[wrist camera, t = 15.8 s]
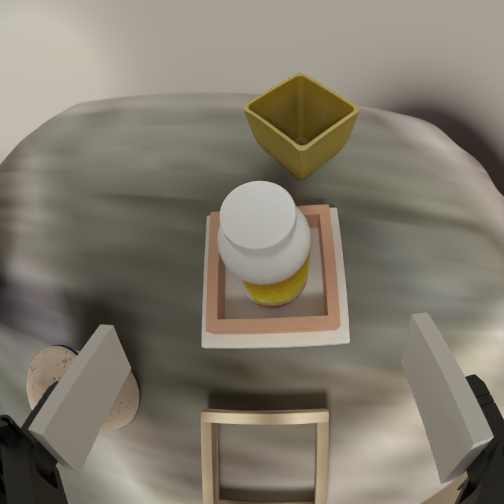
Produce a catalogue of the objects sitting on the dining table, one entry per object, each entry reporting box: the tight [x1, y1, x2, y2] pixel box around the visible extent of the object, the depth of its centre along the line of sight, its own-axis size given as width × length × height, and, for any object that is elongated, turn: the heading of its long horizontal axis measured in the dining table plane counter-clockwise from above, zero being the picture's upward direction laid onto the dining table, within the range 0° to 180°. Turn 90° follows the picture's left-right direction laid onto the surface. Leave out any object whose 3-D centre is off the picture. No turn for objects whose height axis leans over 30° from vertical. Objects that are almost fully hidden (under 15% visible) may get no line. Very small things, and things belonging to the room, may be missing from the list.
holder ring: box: [201, 408, 329, 504], centre depth 24 cm, size 12×12×2 cm
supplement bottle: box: [217, 181, 311, 308], centre depth 25 cm, size 7×7×13 cm
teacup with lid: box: [27, 345, 139, 433], centre depth 24 cm, size 12×9×12 cm
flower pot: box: [243, 73, 359, 180], centre depth 33 cm, size 9×9×9 cm
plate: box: [202, 204, 350, 349], centre depth 30 cm, size 14×14×4 cm
